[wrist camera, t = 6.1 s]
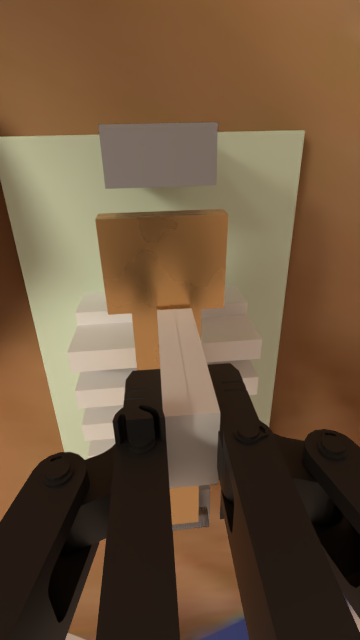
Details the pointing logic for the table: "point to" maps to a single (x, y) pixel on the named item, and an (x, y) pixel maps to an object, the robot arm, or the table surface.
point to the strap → (164, 290)
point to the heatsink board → (147, 196)
